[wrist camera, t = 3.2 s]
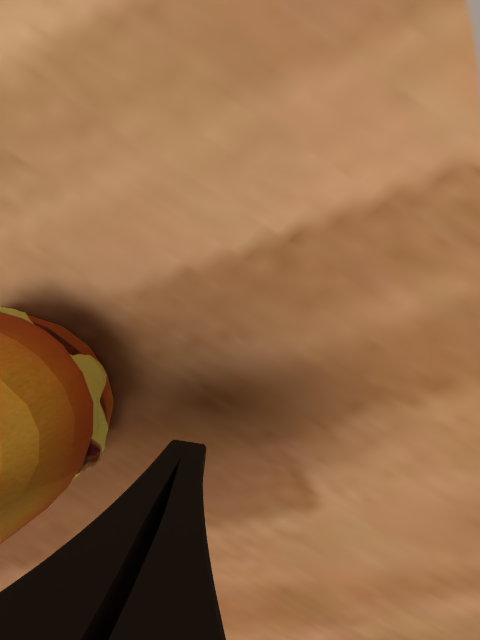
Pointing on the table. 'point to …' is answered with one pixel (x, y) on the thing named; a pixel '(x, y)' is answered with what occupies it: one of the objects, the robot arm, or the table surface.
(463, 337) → the table surface
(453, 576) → the table surface
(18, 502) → the cheeseburger
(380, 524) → the table surface
